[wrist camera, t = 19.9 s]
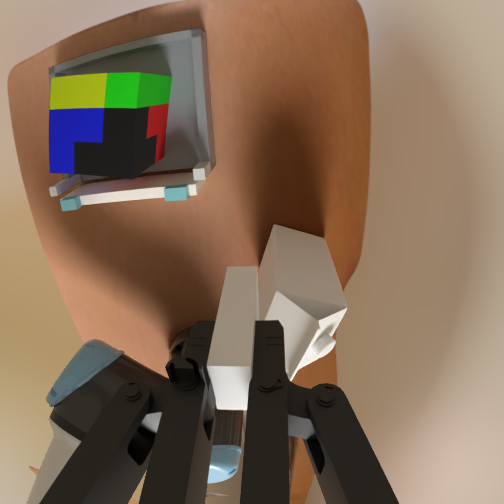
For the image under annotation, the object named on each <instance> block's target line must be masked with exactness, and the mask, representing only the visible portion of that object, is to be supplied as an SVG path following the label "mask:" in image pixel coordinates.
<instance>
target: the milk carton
mask: <svg viewBox="0 0 504 504" xmlns="http://www.w3.org/2000/svg"><path fill="white" fill-rule="evenodd" d="M258 290H259V309H260V310H259V320H279V322H280V323H281V325H282V326H283V327H284V344H285V367H286V372H287V373H288V379H289V380H290V381H292V379H293V377H294V376H295V374H296V372H297V371H298V369H300V368H302V367H304V366H306V365H307V364H309V363H311V362H313V361H315V360H317V359H318V358H321V357H323V356H325V355H327V354H328V353H329V352H330V351H331V350H332V348H333V347H334V345H335V343H336V341H335V340H334V339H333V338H332V335H333V333H334V332H335V330H336V328H337V326H338V325H339V323H340V321H341V319H342V317H343V316H344V314H345V312H346V310H347V303H346V300H345V297H344V294H343V291H342V288H341V284H340V281H339V278H338V275H337V272H336V270H335V267H334V264H333V261H332V258H331V255H330V252H329V249H328V246H327V244H326V241H325V238H322V237H319V236H315V235H312V234H308V233H305V232H301V231H297V230H294V229H290V228H287V227H283V226H280V225H276V224H274V225H273V228H272V231H271V234H270V237H269V240H268V243H267V246H266V249H265V252H264V255H263V258H262V261H261V264H260V267H259V281H258Z"/></svg>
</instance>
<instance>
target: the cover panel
mask: <svg viewBox="0 0 504 504" xmlns="http://www.w3.org/2000/svg"><path fill="white" fill-rule="evenodd" d="M206 181H207V178H206V180H194V176H193V172H185V173H174V174H163V175H153V176H144V177H135V178H134V179H118V180H111V181H103V182H96V183H89V184H83V185H81V186H80V187H78V188H76V189H75V190H73V191H72V192H70V193H69V194H67V195H65V196H64V197H62V198H61V199H60V204H61V208H62V211H70V210H77V209H79V208H80V207H81V206H82V205H89V204H98V203H107V202H117V201H128V200H138V199H150V198H162V197H165V201H180V200H188V198H189V197H190V195H197V194H198V193H199V191H200V190H201V188H202V187H203V185H204V184H205V182H206Z"/></svg>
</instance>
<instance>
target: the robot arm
mask: <svg viewBox="0 0 504 504" xmlns="http://www.w3.org/2000/svg"><path fill="white" fill-rule="evenodd" d="M259 310H260V309H259V290H258V271H257V266H240V267H227V270H226V275H225V280H224V284H223V289H222V294H221V298H220V303H219V308H218V313H217V317H216V321H198V322H197V323H196V324H195V325H194V326H193V327H191V328H189V329H186V330H184V331H183V332H181V333H180V334H179V335H177V337H176V338H175V339H174V341H173V344H172V347H171V350H170V354H169V362H168V363H167V365H166V367H165V368H166V371H167V374H168V376H169V379H168V378H166V377H164V376H163V375H161V374H159V373H157V372H155V371H153V370H151V369H150V368H148V367H146V366H144V365H142V364H141V363H139V362H137V361H135V360H134V359H132V358H130V357H129V356H127V355H125V354H124V351H122V350H120V351H119V350H117V349H116V348H114V347H112V346H110V345H108V344H107V343H105V342H103V341H101V340H98V339H93V340H90V341H88V342H86V343H85V344H84V345H83V346H82V347H81V349H80V350H79V351H78V352H77V353H76V355H75V356H74V357H73V358H72V360H71V361H70V362H69V364H68V365H67V366H66V368H65V369H64V370H63V372H62V373H61V375H60V376H59V378H58V379H57V380H56V382H55V383H54V385H53V387H52V389H51V391H50V392H49V393H48V395H47V397H46V401H47V402H48V403H49V405H50V406H51V407H54V409H53V411H52V413H51V415H50V418H49V421H50V424H51V427H52V429H53V432H54V437H53V439H52V441H51V444H50V446H49V448H48V451H47V453H46V455H45V458H44V460H43V462H42V465H41V467H40V470H39V472H38V475H37V477H36V480H35V483H34V485H33V488H32V490H31V493H30V495H29V498H28V501H27V504H128V502H129V500H130V498H131V497H132V495H133V493H134V491H135V490H136V488H137V486H138V484H139V483H140V481H141V479H142V477H143V475H144V474H145V472H146V470H147V472H146V476H145V480H144V484H143V488H142V492H141V496H140V501H139V504H205V498H206V490H207V483H214V482H220V481H223V480H226V479H229V478H230V477H232V476H233V475H234V474H235V473H236V471H237V469H238V464H239V459H240V453H241V451H242V449H241V438H242V424H243V410H247V417H246V431H245V444H244V445H245V446H244V457H243V471H242V484H241V498H240V504H289V442H288V435H290V436H294V437H298V438H302V439H303V441H304V444H305V446H306V449H307V452H308V455H309V458H310V460H311V463H312V466H313V469H314V471H315V474H316V477H317V479H318V482H319V485H320V487H321V490H322V493H323V496H324V498H325V501H326V504H399V502H398V500H397V498H396V496H395V494H394V492H393V490H392V488H391V486H390V484H389V482H388V480H387V478H386V476H385V474H384V472H383V470H382V468H381V466H380V463H379V461H378V459H377V457H376V455H375V453H374V451H373V449H372V447H371V445H370V443H369V441H368V439H367V437H366V435H365V433H364V431H363V429H362V427H361V425H360V423H359V421H358V419H357V417H356V415H355V413H354V411H353V409H352V407H351V405H350V404H349V401H348V399H347V398H346V395H345V394H344V392H343V391H342V390H341V388H339V387H337V386H336V385H333V384H328V383H326V384H319V385H317V386H314V387H313V388H312V389H308V388H304V387H300V386H297V385H295V384H294V383H292V382H291V381H290V380H289V379H288V377H287V375H286V367H285V344H284V327H283V326H282V325H281V323H280V322H279V320H259Z"/></svg>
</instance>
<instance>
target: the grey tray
mask: <svg viewBox="0 0 504 504" xmlns="http://www.w3.org/2000/svg"><path fill="white" fill-rule="evenodd" d="M127 72H141V73H150V74H158V75H165V76H172V83H171V91H170V99H169V108H168V118H167V128H166V140H165V152H164V158H162V159H161V160H159V161H158V162H156V163H155V164H154V165H152V166H151V167H149V168H148V169H146V170H145V171H143V172H142V173H147V172H156V171H166V170H177V169H188V168H193V176H194V180H206V178H207V177H208V175H209V174H210V172H211V171H212V170H213V168H214V167H215V165H216V160H215V149H214V137H213V125H212V112H211V99H210V85H209V71H208V56H207V40H206V33H205V32H204V31H203V30H202V29H200V28H198V29H191V30H185V31H179V32H173V33H168V34H162V35H157V36H153V37H148V38H144V39H139V40H135V41H131V42H127V43H123V44H119V45H116V46H112V47H109V48H105V49H102V50H99V51H95V52H92V53H89V54H86V55H83V56H80V57H77V58H74V59H72V60H69V61H66V62H63V63H61V64H58V65H56V66H53V67H51V68H49V81H50V93H51V80H52V78H54V77H63V76H73V75H85V74H100V73H127ZM62 174H63V180H62V181H60V182H58V183H56V184H54V185H53V186H51V187H49V191H50V195H51V197H54V196H58V195H60V194H61V193H63V192H65V191H66V190H68V189H70V188H71V187H73V186H74V185H76V184H78V183H79V182H81V181H87V180H93V179H100V178H107V177H103V176H91V175H79V174H65V173H62Z"/></svg>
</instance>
